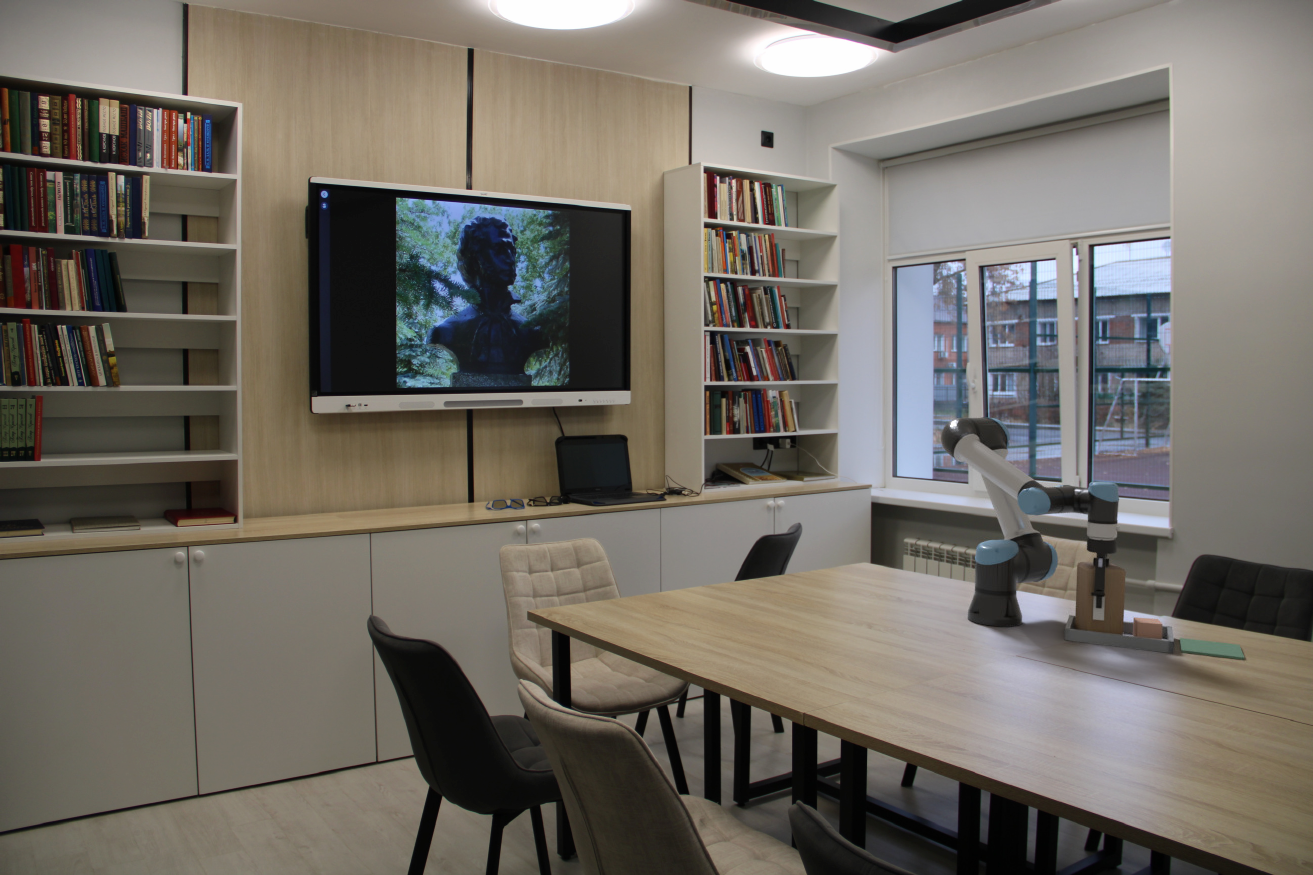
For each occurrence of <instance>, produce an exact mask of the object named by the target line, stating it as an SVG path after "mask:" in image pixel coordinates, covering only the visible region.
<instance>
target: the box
mask: <svg viewBox="0 0 1313 875" xmlns="http://www.w3.org/2000/svg"><path fill="white" fill-rule="evenodd" d="M1132 622H1133V634H1132V636H1137V637H1145V638H1154V639H1162V640H1163V637H1162V626H1164V625H1163V623H1162V622H1161V621H1160V620H1159V619H1158V618H1149V617H1134V616H1133V621H1132Z"/></svg>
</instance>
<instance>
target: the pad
mask: <svg viewBox="0 0 1313 875" xmlns="http://www.w3.org/2000/svg"><path fill="white" fill-rule="evenodd" d="M1179 644H1180V650H1181V653H1184V654H1194V655H1200V656H1206V657H1207V656H1209V657H1215V658H1217V657H1218V658H1225V659H1233V660H1242V661H1245V655H1244V652H1243V651H1242V650H1243V649H1242V648H1241V646H1240V644H1236V643H1229V642H1228V643H1227V642H1221V641H1220V642H1219V641H1210V640H1203V639H1193V638H1184V637H1179Z"/></svg>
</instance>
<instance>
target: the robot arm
mask: <svg viewBox="0 0 1313 875" xmlns="http://www.w3.org/2000/svg"><path fill="white" fill-rule="evenodd" d="M941 430H942V431H941V433H940V442H941V445H942V447H943V449H944V450H945V452H946V453H947V454H948V455H949V456H951V458H953V459H955V460H956V461H957V462H960V463H965V464H967V465H969V467H971V468H972V469H974V470H975V471H977V472H978V473H979V474H980V475H981V478H982V481H983V483H984V486H985V489H986V490H987V491H986V492H987V494H988V497H989V499H990V503H991V505H992V508H993V510H994V512H995V514H996V519H997V521H998V524H999V525H1000V528H1001V532H1002V534H1003V536H1004V539H990V540H984V541H983V542H980V543H979V544H978V545H977V546H976V549H975V550H976V551H975V556H974V560H975V561H974V565H975V566H974V567H975V568H974V594H973V596H972V599H971V602H970V605H969V607H968V610H967V619H968V620H969V621H970V622H972V623H975V624H978V625H986V626H990V627H1017V626H1019V625H1022V623H1023V614H1022V611H1021V608H1020V604H1019V601H1018V598H1017V597H1018V596H1017V589H1018V588H1017V587H1018V586H1017V585H1018V584H1025V583H1039V582H1041V581H1046V580H1048V579H1050V578H1051V577H1053V575H1055V573H1056V569H1057V568H1058V564H1059V563H1058V562H1059V557H1058V553H1057V550H1056V549H1055V547H1054V546H1053V545H1052V544H1050V543H1049V542H1047V541H1044V540H1043V537H1042V534H1041V532H1040V531H1038V530H1036V529H1034V528H1033V526H1032V523H1031V521H1030V517H1029V516H1042V515H1043V516H1044V515H1053V514H1068V513H1069V514H1070V513H1072V514H1083V515H1087V523H1086V525H1087V526H1086V527H1087V529H1086V535H1087V539H1086V551H1088V552H1090V553H1092V554H1093V553H1094V554H1096V557H1093V560H1092V562H1093V565H1094V566H1095V585H1094V593H1093V592H1091V596H1094V602H1093V619H1095V620H1104V605H1105V593H1104V589H1105V565H1106V567H1107V568H1108V566H1109V563H1110V558H1108V554H1109V555H1113V554H1115V553H1117V551H1118V550H1117V548H1118V540H1117V539H1116V538H1117V537H1118V531H1120V530H1121V528H1120V527H1119V526H1118V521H1119V519H1118V513H1119V502H1120V497H1119V496H1120V495H1119V485H1118V484H1117V483H1115V482H1108V481H1091V482H1090V483H1089V484H1088V487H1082V486H1075V485H1073V486H1072V485H1070V484H1056V485H1055V486H1049V487H1047V486H1044V485H1043V484H1041V483H1039V482H1038V481H1037V480H1035V479H1034V478H1032V477H1031V476H1030V475H1028V474H1027V473H1025V472H1024V471H1023V470H1021V469H1020V468H1018V467H1017V466H1015V465H1014V464H1012V463H1011V462H1010V461H1008V460H1007V456H1008V454H1009V450H1008V448H1009V446H1010V442H1009V441H1011V434H1010V430H1009V429H1008V427H1007V426H1006V424H1005V423H1003V421H1002V420H999V419H998V418H993V417H986V416H984V417H957V418H953V419H952V420H949V422H947V423H946V424H945V425H944V426H943V428H942V429H941ZM1099 567H1102V568H1099Z"/></svg>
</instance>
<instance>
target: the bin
mask: <svg viewBox="0 0 1313 875" xmlns="http://www.w3.org/2000/svg"><path fill="white" fill-rule="evenodd" d="M1173 631H1174V630H1173V626H1170V625H1162V639H1154V638H1145V637H1137V636H1133V621H1127V620H1126V621H1125V620H1124V624H1123V635H1119V634H1111V633H1102V632H1094V631H1085V630H1077V629H1075V615H1071V614H1069V615H1068V619H1067V622H1066V625H1065V628H1064V639H1063V640H1064V641H1071V642H1079V643H1087V644H1096V645H1103V646H1104V645H1105V646H1111V647H1120V648H1127V649H1128V648H1129V649H1134V650H1136V649H1137V650H1144V651H1153V652H1159V653H1160V652H1161V653H1166V654H1167V653H1168V654H1174V652H1175V650H1174V649H1175V638H1174V632H1173ZM1124 633H1125V634H1124ZM1127 634H1131V635H1127ZM1163 638H1166V639H1163Z"/></svg>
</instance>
